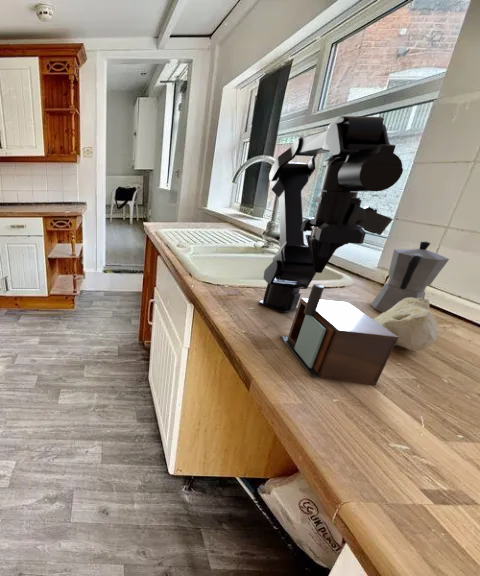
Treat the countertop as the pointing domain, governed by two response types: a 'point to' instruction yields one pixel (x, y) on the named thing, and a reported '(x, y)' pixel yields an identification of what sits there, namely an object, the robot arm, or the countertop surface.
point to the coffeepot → (409, 275)
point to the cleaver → (310, 329)
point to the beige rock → (410, 323)
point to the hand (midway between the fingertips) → (317, 272)
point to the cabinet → (345, 343)
